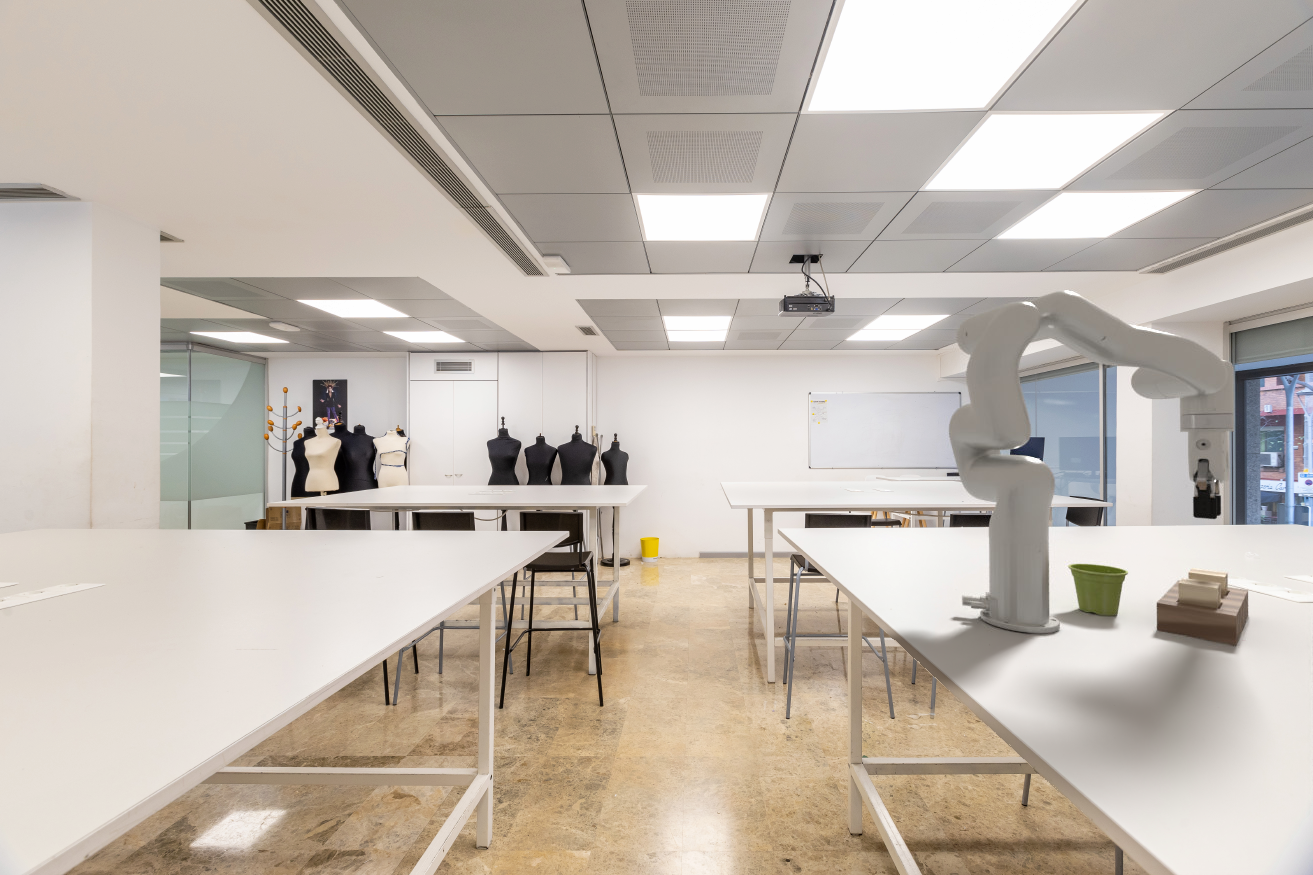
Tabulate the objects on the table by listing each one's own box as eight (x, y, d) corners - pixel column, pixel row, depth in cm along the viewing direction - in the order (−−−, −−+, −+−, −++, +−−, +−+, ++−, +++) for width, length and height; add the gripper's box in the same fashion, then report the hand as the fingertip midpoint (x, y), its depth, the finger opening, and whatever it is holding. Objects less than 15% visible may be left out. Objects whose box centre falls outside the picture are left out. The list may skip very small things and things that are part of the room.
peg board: (1236, 645, 93) (1236, 615, 93) (1156, 630, 101) (1156, 602, 101) (1248, 615, 109) (1248, 589, 109) (1178, 604, 116) (1178, 580, 116)
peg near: (1217, 615, 97) (1217, 588, 97) (1178, 608, 101) (1178, 582, 101) (1220, 609, 101) (1220, 583, 101) (1183, 603, 104) (1182, 577, 104)
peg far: (1225, 602, 105) (1224, 576, 105) (1188, 596, 109) (1188, 572, 109) (1227, 597, 108) (1227, 572, 108) (1192, 591, 112) (1192, 568, 112)
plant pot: (1058, 603, 117) (1058, 562, 117) (1108, 605, 116) (1107, 563, 116) (1086, 618, 108) (1086, 573, 108) (1140, 619, 107) (1140, 574, 107)
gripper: (1229, 423, 100) (1230, 523, 100) (1238, 424, 111) (1239, 514, 111) (1172, 424, 106) (1173, 518, 106) (1186, 425, 117) (1187, 510, 117)
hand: (1207, 515), depth 109 cm, fingers open, 5 cm apart
